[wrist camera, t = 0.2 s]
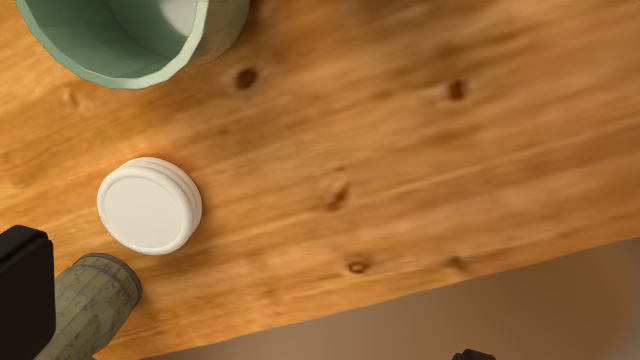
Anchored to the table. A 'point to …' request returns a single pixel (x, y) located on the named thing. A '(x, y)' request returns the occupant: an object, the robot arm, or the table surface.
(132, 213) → the coaster
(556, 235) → the table surface
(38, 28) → the pot
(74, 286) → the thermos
